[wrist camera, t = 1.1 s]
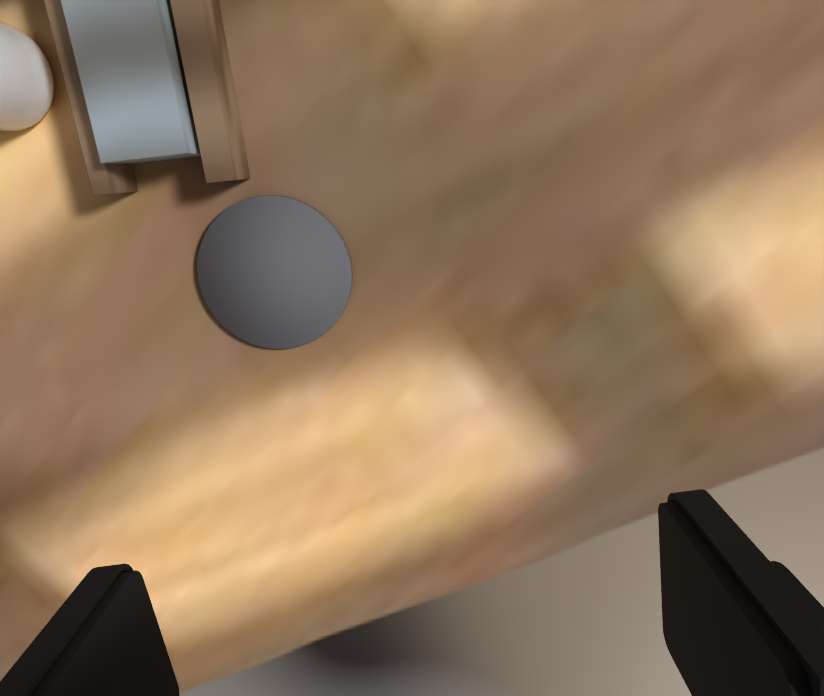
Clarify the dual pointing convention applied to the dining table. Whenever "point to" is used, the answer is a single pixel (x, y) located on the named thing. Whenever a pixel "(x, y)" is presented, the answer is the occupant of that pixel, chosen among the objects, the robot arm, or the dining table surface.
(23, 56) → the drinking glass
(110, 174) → the walnut cubby
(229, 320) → the felt coaster
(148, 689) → the robot arm
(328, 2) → the dining table surface
